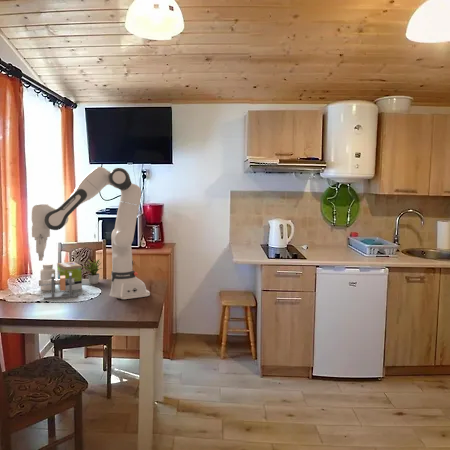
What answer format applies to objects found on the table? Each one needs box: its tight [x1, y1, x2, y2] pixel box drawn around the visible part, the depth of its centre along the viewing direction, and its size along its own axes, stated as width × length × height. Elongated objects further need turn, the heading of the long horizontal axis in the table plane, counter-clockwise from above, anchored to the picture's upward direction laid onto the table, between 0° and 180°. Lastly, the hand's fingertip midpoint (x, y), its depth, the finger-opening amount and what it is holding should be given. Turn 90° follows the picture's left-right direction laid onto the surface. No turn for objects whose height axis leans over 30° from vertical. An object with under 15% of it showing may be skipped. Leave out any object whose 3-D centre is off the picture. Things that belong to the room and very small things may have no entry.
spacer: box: [59, 276, 66, 292], centre depth 222 cm, size 3×7×7 cm, turn 21°
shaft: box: [38, 278, 74, 287], centre depth 221 cm, size 18×3×3 cm, turn 111°
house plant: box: [82, 258, 104, 285], centre depth 252 cm, size 14×14×16 cm
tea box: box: [56, 261, 83, 292], centre depth 240 cm, size 15×10×15 cm
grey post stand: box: [43, 273, 78, 300], centre depth 222 cm, size 17×10×12 cm, turn 111°
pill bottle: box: [39, 263, 56, 291], centre depth 236 cm, size 8×8×15 cm
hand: (41, 259), depth 217 cm, fingers open, 8 cm apart
